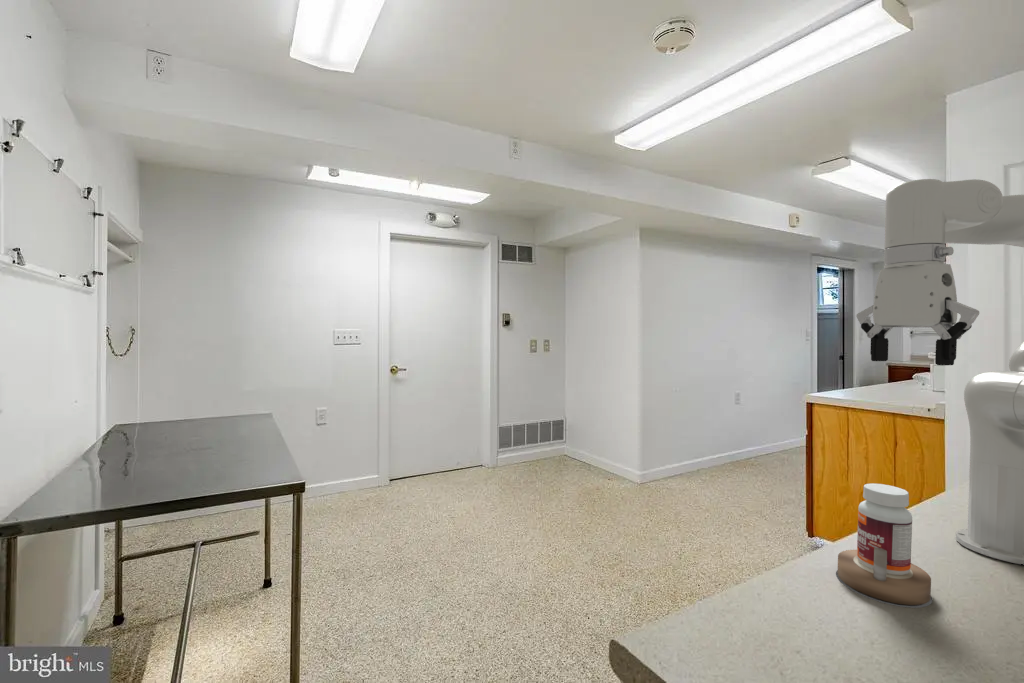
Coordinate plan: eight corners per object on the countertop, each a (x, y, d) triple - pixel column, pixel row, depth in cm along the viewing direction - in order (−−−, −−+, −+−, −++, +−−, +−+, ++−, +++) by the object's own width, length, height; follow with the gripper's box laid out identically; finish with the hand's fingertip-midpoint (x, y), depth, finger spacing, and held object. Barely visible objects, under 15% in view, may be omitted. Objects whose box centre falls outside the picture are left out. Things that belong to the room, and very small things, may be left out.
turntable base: (870, 571, 75) (870, 561, 75) (952, 610, 65) (952, 599, 65) (817, 581, 72) (818, 571, 72) (895, 624, 61) (895, 613, 61)
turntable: (842, 558, 76) (843, 518, 76) (930, 582, 69) (932, 538, 68) (832, 584, 68) (833, 540, 68) (930, 614, 61) (932, 565, 61)
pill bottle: (846, 558, 70) (848, 483, 70) (878, 553, 72) (880, 480, 72) (888, 579, 64) (890, 497, 64) (922, 573, 66) (924, 494, 66)
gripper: (995, 252, 70) (991, 366, 70) (875, 266, 86) (872, 359, 87) (961, 248, 68) (958, 367, 68) (844, 264, 84) (842, 359, 84)
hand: (910, 362), depth 77 cm, fingers open, 9 cm apart
